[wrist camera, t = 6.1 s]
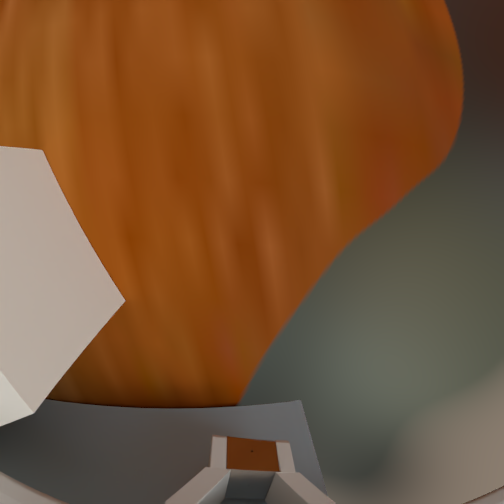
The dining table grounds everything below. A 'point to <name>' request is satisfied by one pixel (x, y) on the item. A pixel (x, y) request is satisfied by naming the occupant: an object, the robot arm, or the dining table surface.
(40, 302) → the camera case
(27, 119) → the dining table surface
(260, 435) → the case door
